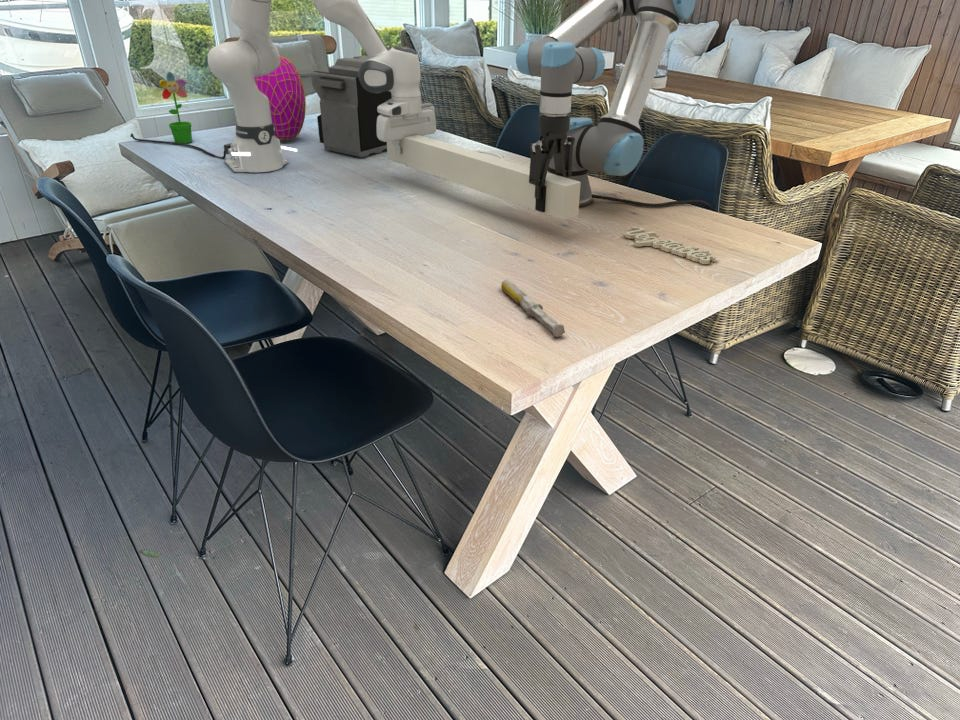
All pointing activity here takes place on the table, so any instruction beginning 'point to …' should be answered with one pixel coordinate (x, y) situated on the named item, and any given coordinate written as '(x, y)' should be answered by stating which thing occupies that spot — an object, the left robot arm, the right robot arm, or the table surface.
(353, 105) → the cooler box
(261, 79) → the decorative egg
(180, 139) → the potted flower
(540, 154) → the right robot arm
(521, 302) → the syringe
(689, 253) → the decorative sign
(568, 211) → the post
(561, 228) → the table surface
